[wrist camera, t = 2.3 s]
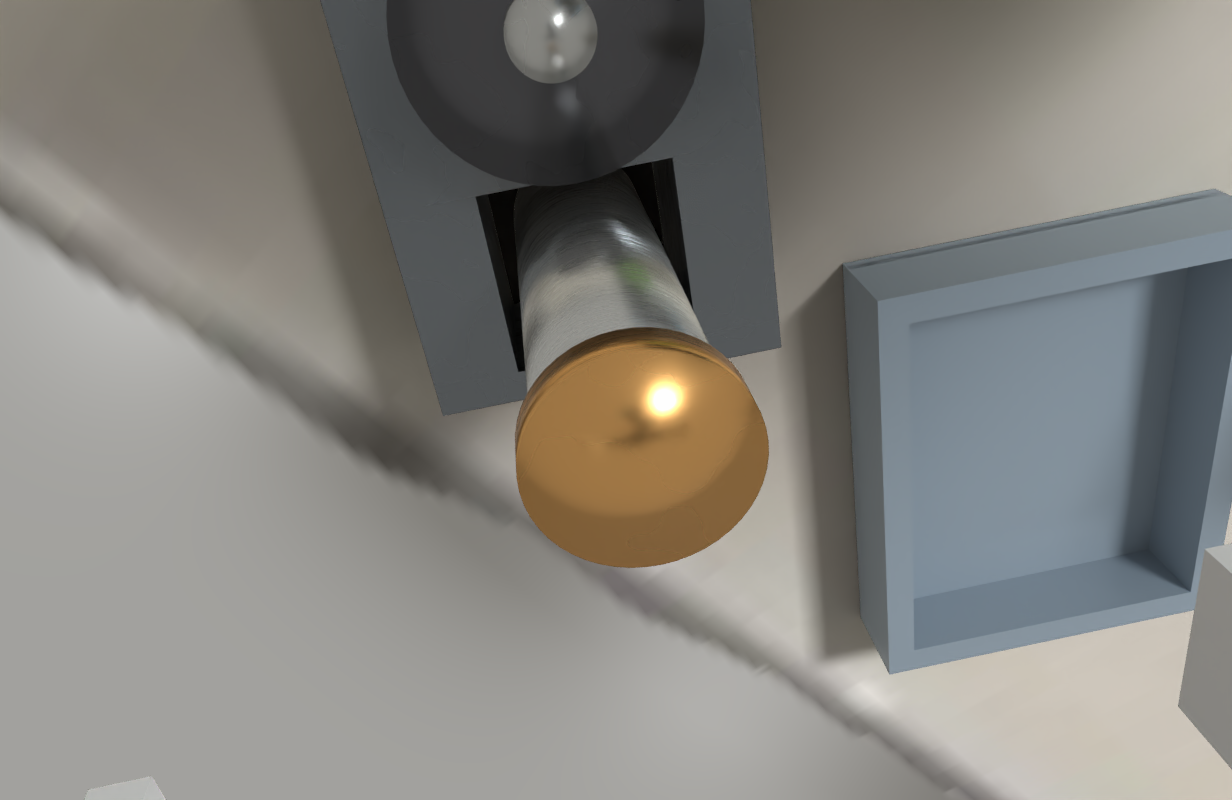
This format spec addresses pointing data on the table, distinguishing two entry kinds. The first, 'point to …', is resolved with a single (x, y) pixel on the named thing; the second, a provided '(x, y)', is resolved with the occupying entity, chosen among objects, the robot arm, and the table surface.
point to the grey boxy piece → (557, 155)
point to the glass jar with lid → (623, 387)
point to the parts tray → (1040, 427)
